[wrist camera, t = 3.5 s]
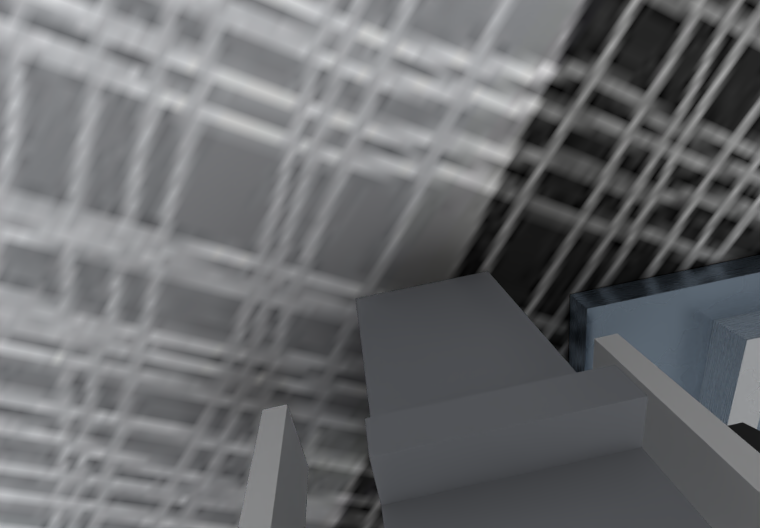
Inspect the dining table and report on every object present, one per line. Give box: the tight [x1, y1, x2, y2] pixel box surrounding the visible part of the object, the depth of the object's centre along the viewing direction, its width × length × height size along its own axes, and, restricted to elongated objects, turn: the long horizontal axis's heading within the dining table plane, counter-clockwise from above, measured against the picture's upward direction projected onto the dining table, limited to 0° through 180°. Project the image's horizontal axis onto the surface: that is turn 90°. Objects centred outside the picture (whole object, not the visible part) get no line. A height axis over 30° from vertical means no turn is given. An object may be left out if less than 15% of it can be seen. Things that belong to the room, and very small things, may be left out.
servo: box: [356, 271, 712, 528], centre depth 10 cm, size 4×9×10 cm, turn 10°
